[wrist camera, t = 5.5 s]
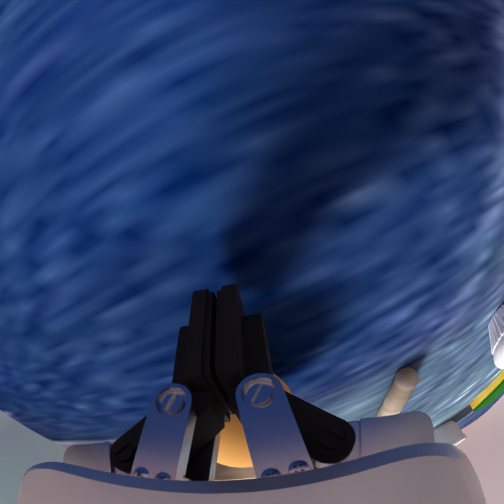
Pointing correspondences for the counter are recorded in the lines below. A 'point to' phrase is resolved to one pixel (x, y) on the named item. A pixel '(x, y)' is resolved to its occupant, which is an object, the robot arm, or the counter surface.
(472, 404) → the dish sponge
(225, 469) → the rail
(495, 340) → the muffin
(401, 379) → the birch pin
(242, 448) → the ball
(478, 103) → the counter surface
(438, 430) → the ramekin
